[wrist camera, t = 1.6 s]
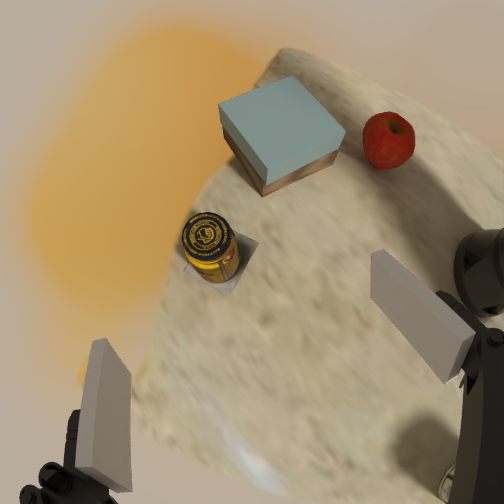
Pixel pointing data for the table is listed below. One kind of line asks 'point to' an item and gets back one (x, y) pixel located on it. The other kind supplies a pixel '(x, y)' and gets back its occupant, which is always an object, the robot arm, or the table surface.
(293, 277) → the table surface
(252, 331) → the table surface
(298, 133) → the tower top
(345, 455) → the table surface
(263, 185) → the tower base
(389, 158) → the apple
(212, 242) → the condiment
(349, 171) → the table surface
